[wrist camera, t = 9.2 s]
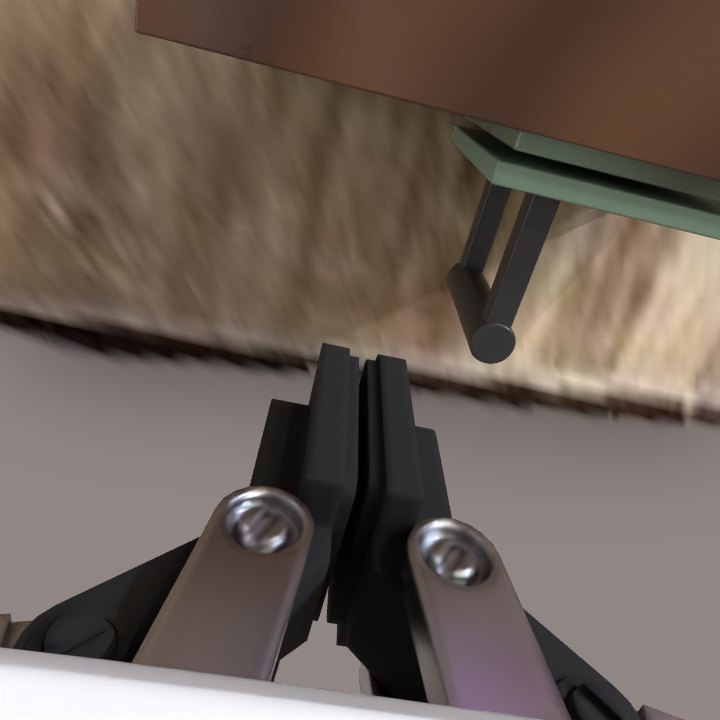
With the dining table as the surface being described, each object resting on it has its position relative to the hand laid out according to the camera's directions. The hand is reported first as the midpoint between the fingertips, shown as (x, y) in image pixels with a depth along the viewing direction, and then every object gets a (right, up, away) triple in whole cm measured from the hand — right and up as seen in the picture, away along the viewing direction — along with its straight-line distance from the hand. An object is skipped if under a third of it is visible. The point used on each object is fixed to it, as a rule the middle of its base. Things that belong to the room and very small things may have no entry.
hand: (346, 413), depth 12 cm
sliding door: (+8, +6, +12) cm, 15 cm away
